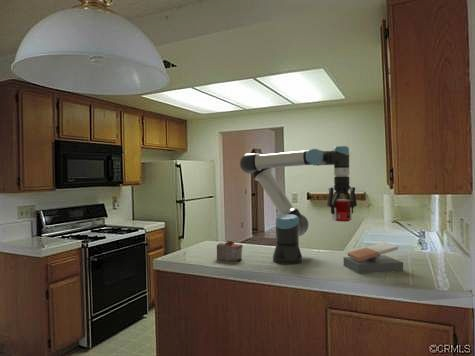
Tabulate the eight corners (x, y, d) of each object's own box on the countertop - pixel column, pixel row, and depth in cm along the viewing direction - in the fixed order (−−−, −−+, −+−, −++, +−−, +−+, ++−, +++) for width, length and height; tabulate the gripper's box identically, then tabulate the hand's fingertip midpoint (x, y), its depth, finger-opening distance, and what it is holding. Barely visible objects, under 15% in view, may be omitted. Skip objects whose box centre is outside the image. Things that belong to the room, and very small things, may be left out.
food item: (244, 259, 174) (244, 240, 174) (239, 262, 166) (239, 243, 166) (220, 257, 179) (220, 239, 179) (214, 260, 171) (214, 241, 171)
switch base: (358, 273, 145) (358, 260, 145) (343, 265, 159) (343, 253, 159) (403, 271, 149) (403, 257, 149) (384, 263, 162) (384, 251, 162)
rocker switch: (359, 262, 147) (358, 257, 147) (348, 257, 157) (347, 252, 157) (398, 251, 150) (397, 246, 150) (385, 246, 160) (384, 242, 160)
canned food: (351, 221, 164) (351, 200, 164) (334, 221, 166) (334, 199, 166) (349, 219, 171) (349, 199, 171) (333, 219, 173) (333, 198, 173)
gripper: (326, 176, 163) (326, 221, 163) (364, 176, 167) (364, 220, 166) (319, 176, 171) (320, 219, 171) (356, 176, 174) (356, 218, 174)
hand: (342, 220), depth 169 cm, fingers closed on canned food, 8 cm apart
